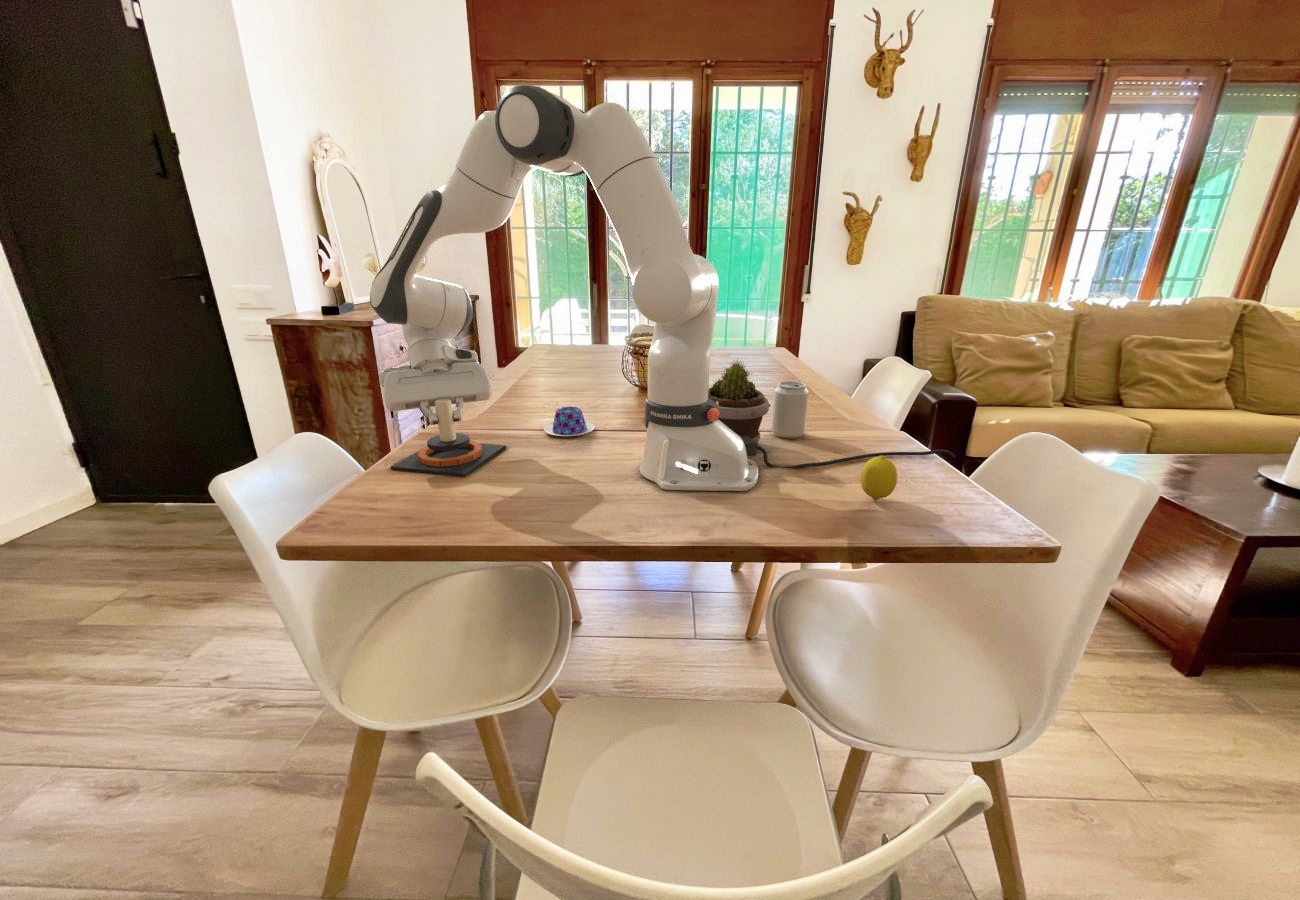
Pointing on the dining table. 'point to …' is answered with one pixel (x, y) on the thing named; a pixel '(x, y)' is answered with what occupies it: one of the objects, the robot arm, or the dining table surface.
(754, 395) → the flowerpot
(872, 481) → the lemon
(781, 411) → the can
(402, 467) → the base pad
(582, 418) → the pudding
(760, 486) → the dining table surface
